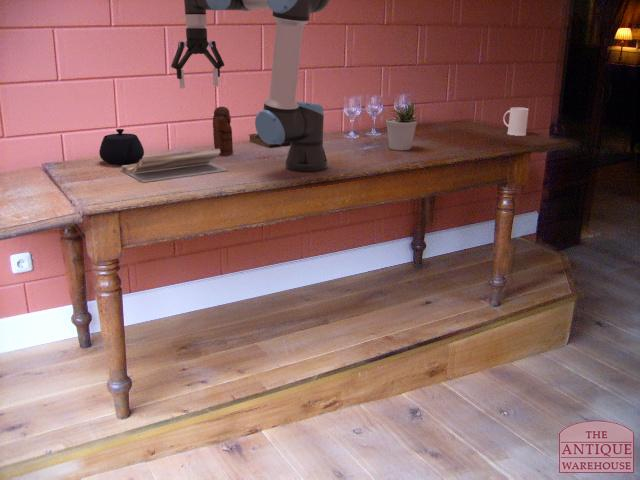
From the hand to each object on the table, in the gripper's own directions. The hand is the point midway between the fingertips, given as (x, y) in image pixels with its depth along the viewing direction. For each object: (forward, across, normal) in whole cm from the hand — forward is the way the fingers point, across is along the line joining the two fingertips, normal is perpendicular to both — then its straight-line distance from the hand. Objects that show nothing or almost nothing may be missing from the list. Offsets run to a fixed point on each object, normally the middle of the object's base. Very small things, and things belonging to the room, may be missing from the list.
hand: (199, 87), depth 246 cm
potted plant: (+26, -75, +30) cm, 85 cm away
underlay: (+26, +19, +19) cm, 38 cm away
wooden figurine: (+26, -9, 0) cm, 27 cm away
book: (+26, -42, -8) cm, 50 cm away
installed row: (+26, +20, +12) cm, 35 cm away
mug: (+26, -145, +29) cm, 150 cm away
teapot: (+26, +30, -3) cm, 40 cm away
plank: (+22, +19, +22) cm, 37 cm away
